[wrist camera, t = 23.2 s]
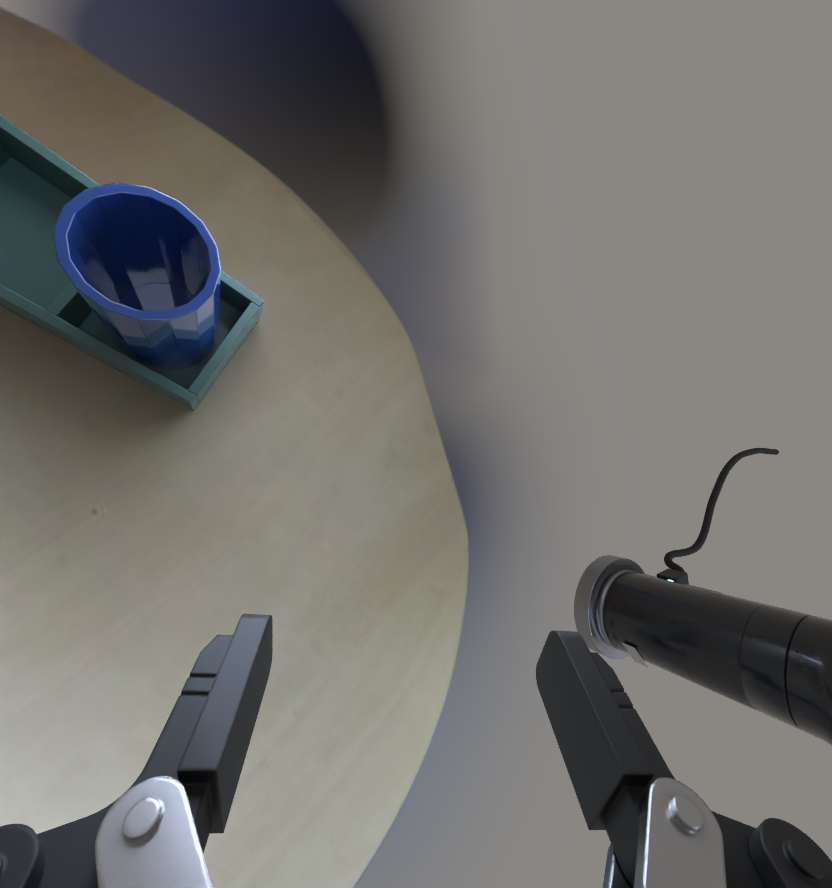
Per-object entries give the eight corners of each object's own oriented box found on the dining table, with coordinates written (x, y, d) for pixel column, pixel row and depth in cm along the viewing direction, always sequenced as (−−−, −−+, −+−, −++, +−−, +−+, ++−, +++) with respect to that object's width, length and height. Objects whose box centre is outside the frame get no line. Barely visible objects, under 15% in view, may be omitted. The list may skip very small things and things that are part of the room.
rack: (193, 411, 28) (191, 403, 24) (-97, 251, 22) (-155, 211, 18) (258, 319, 30) (264, 300, 26) (13, 152, 24) (-20, 100, 20)
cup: (228, 303, 28) (235, 226, 19) (203, 382, 27) (198, 340, 18) (128, 264, 26) (82, 155, 17) (96, 350, 25) (30, 284, 16)
